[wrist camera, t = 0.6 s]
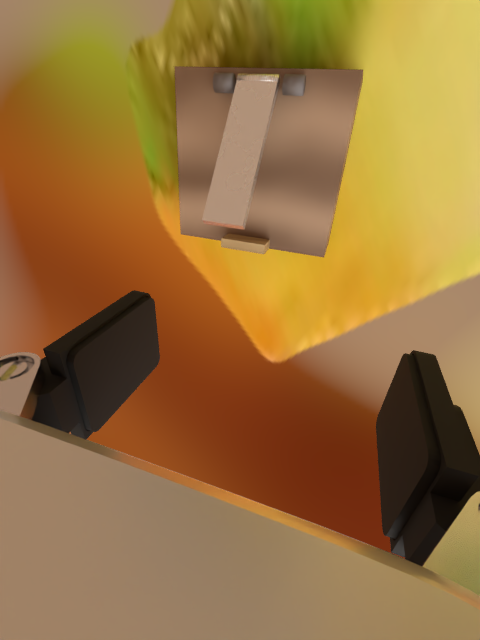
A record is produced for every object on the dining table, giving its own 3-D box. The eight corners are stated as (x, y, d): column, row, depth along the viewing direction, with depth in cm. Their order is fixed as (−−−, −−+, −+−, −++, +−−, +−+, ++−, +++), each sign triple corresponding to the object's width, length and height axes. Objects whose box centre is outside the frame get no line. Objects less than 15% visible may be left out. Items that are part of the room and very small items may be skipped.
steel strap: (241, 80, 23) (238, 70, 22) (280, 81, 22) (279, 71, 21) (205, 224, 22) (201, 219, 22) (244, 230, 22) (242, 225, 21)
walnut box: (201, 77, 28) (162, 61, 22) (362, 82, 25) (363, 64, 19) (201, 223, 35) (171, 238, 29) (328, 242, 31) (321, 263, 26)
